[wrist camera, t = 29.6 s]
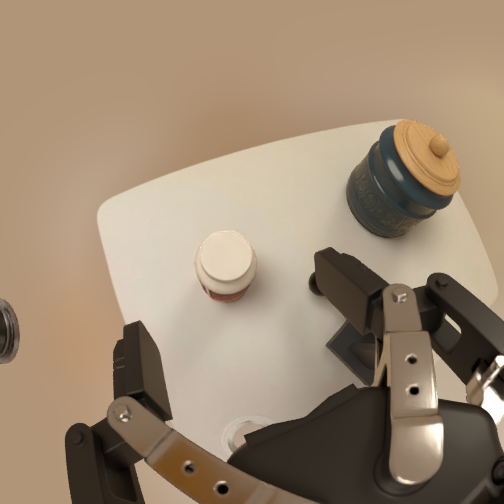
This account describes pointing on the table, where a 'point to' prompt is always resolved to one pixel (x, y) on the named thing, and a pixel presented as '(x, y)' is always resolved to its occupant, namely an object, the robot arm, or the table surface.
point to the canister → (403, 179)
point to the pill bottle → (225, 265)
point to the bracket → (355, 351)
